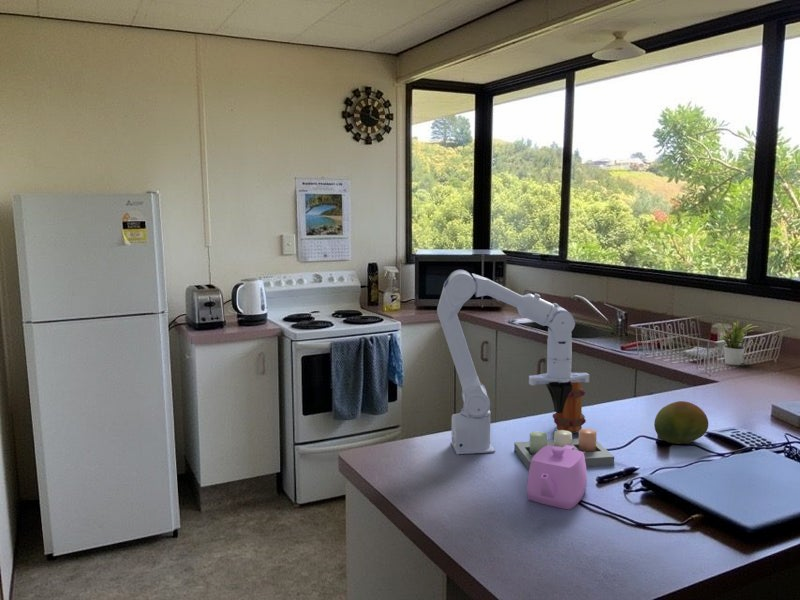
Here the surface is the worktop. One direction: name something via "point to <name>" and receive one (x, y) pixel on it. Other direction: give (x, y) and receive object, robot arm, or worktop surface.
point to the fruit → (681, 422)
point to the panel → (591, 458)
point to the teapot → (557, 477)
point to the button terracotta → (587, 440)
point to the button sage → (537, 441)
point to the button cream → (562, 438)
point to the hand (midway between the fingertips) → (558, 411)
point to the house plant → (735, 344)
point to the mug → (571, 411)
